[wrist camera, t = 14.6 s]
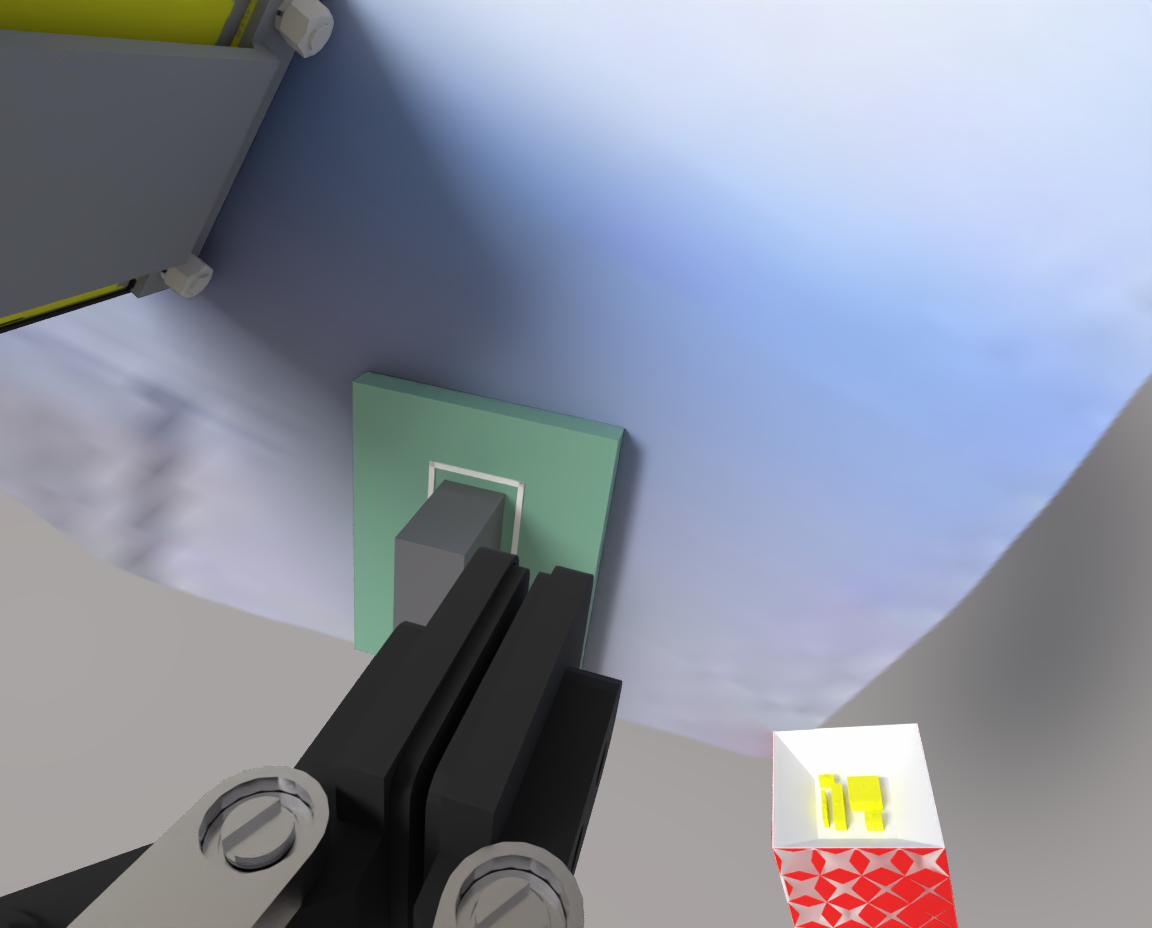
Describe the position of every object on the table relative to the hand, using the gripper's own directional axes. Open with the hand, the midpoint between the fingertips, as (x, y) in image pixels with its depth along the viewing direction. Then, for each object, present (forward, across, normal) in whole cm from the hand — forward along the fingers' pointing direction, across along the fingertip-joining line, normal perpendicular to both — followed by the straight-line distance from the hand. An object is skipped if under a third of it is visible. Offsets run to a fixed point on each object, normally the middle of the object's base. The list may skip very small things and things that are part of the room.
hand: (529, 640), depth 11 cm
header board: (+26, +10, +18) cm, 33 cm away
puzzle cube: (+26, -14, +28) cm, 41 cm away
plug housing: (+24, +10, +18) cm, 32 cm away
